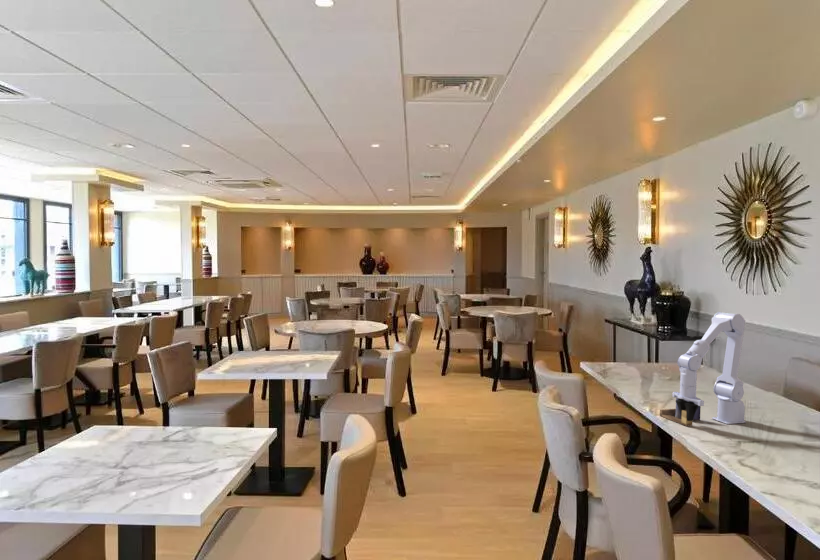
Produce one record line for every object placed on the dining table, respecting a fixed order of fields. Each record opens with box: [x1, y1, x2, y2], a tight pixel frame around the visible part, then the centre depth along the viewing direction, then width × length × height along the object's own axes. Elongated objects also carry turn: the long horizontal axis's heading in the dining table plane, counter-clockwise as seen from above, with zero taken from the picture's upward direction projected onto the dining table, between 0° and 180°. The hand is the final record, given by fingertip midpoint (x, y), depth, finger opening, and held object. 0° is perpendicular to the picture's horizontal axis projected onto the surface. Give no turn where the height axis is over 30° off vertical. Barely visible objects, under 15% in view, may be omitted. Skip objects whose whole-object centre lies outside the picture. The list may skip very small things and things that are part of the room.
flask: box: [674, 397, 702, 422], centre depth 229 cm, size 9×3×11 cm, turn 73°
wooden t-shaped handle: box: [659, 408, 693, 427], centre depth 227 cm, size 12×15×6 cm
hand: (686, 419), depth 220 cm, fingers closed on wooden t-shaped handle, 2 cm apart
